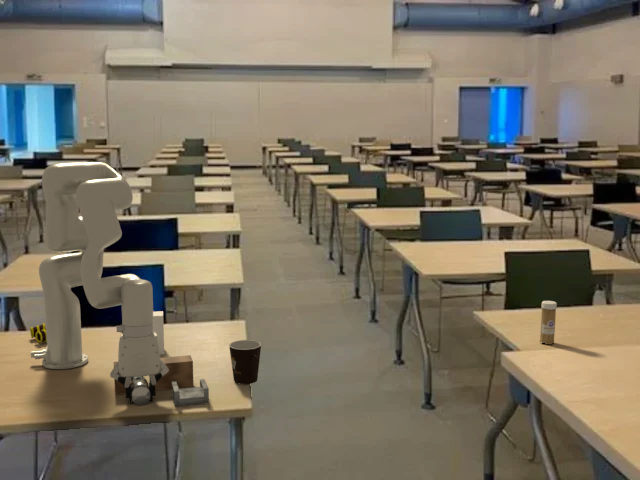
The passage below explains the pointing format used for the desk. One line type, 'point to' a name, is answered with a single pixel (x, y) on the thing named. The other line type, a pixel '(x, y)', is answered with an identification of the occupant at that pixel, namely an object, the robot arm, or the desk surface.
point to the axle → (140, 391)
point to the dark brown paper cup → (245, 360)
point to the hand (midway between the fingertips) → (140, 399)
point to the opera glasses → (39, 333)
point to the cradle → (190, 394)
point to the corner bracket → (159, 329)
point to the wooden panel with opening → (169, 374)
